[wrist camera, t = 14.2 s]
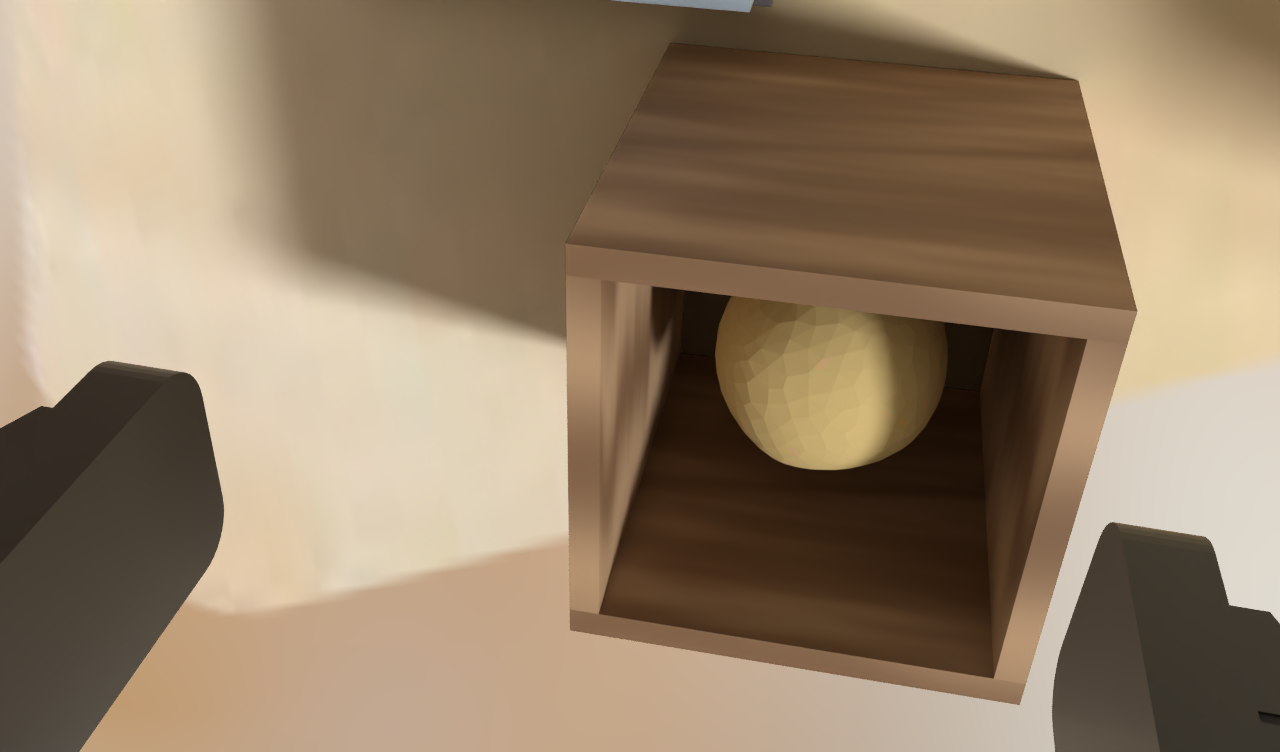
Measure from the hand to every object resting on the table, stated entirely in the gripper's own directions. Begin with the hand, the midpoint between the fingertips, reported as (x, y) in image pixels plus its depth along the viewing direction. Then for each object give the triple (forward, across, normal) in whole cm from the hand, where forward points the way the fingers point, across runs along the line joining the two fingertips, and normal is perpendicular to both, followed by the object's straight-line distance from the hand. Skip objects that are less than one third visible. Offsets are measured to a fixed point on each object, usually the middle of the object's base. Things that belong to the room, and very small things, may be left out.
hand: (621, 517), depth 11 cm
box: (+28, -2, +12) cm, 30 cm away
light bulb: (+28, -2, +12) cm, 30 cm away
